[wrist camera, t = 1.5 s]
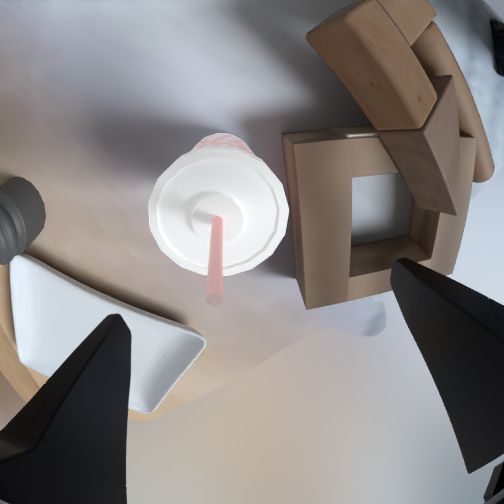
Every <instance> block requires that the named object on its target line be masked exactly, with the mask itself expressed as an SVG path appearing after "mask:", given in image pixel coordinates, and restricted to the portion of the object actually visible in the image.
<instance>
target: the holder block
mask: <svg viewBox="0 0 504 504" xmlns="http://www.w3.org/2000/svg"><path fill="white" fill-rule="evenodd" d="M378 131H379V130H376V129H375V128H374V127H373V126H363V127H344V128H330V129H319V130H308V131H299V132H290V133H282V134H281V136H282V143H283V151H284V159H285V167H286V176H287V185H288V194H289V203H290V213H291V223H292V233H293V244H294V255H295V267H296V280H297V283H298V286H299V289H300V292H301V295H302V298H303V301H304V304H305V307H306V310H308V309H313V308H318V307H323V306H328V305H332V304H337V303H342V302H346V301H351V300H355V299H359V298H363V297H368V296H372V295H376V294H380V293H384V292H388V291H392V287H391V284H390V275H391V269H392V263H393V260H395V259H397V258H401V257H406V258H408V259H410V260H413V261H415V262H417V263H419V264H421V265H424V266H426V267H428V268H430V269H432V270H434V271H436V272H438V273H440V274H443V275H445V276H446V275H449V274H452V273H453V269H454V266H455V263H456V259H457V255H458V251H459V248H460V244H461V240H462V235H463V231H464V227H465V222H466V217H467V212H468V207H469V201H470V195H471V189H472V182H473V174H474V165H475V155H476V141H477V138H475V137H471V136H466V135H461V134H459V135H460V194H459V210H458V216H454V215H450V214H445V213H441V212H436V211H432V210H427V209H423V208H419V207H418V205H417V203H416V201H415V199H414V201H413V211H412V219H411V227H410V234H409V236H405V237H399V238H394V239H389V240H384V241H378V242H373V243H368V244H363V245H357V246H352V247H351V224H352V178H353V177H361V176H371V175H381V174H391V173H401V172H400V170H399V169H398V167H397V165H396V163H395V162H394V160H393V158H392V156H391V155H390V153H389V151H388V150H387V148H386V146H385V145H384V143H383V142H382V140H381V138H380V137H379V135H378Z"/></svg>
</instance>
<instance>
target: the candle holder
mask: <svg viewBox="0 0 504 504" xmlns="http://www.w3.org/2000/svg"><path fill="white" fill-rule="evenodd" d="M45 218H46V215H45V208H44V203H43V201H42V199H41V196H40V194H39V192H38V191H37V189H36V188H35V187H34V186H33V185H32V184H31V182H29V181H27V180H25V179H23V178H12V179H10V180H8V181H7V182H5V183H4V184H2V185H1V186H0V264H2V265H4V264H6V263H9V262H11V261H12V260H13V258H14V257H15V256H17V255H19V254H22V253H23V251H24V250H25V249H26V248H27V247H28V246H29V245H30V243H31V242H32V241H33V240H34V239H35V238H36V237H37V236H38V235H39V233H40V232H41V231H42V229H43V228H44V223H45Z"/></svg>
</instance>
